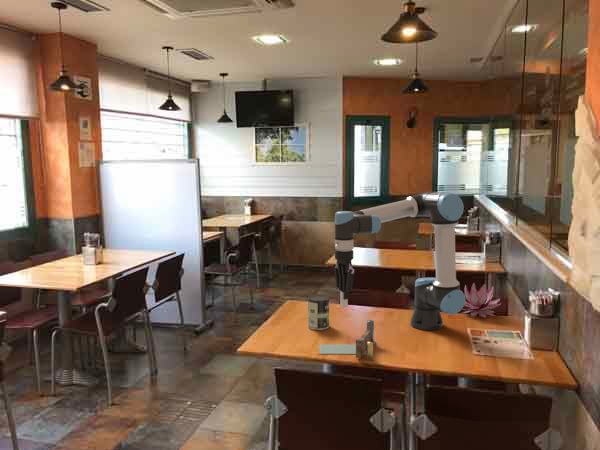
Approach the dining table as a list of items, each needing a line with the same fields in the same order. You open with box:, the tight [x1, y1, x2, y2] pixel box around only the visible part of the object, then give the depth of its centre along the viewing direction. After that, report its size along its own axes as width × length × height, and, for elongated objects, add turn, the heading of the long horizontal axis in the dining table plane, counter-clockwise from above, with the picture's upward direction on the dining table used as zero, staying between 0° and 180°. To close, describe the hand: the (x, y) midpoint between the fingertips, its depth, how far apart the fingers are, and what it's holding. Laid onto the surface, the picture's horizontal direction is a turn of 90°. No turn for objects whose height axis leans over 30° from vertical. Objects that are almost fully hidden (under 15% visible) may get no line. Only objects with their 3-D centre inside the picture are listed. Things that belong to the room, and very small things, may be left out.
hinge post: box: [366, 319, 377, 346], centre depth 204 cm, size 5×5×10 cm
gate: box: [355, 329, 371, 359], centre depth 195 cm, size 17×2×7 cm, turn 157°
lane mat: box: [318, 343, 367, 355], centre depth 198 cm, size 20×10×1 cm, turn 88°
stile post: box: [366, 341, 374, 362], centre depth 188 cm, size 2×2×7 cm
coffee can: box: [307, 294, 330, 331], centre depth 227 cm, size 10×10×14 cm
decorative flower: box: [461, 282, 501, 319], centre depth 242 cm, size 21×21×15 cm
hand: (344, 306), depth 194 cm, fingers closed
